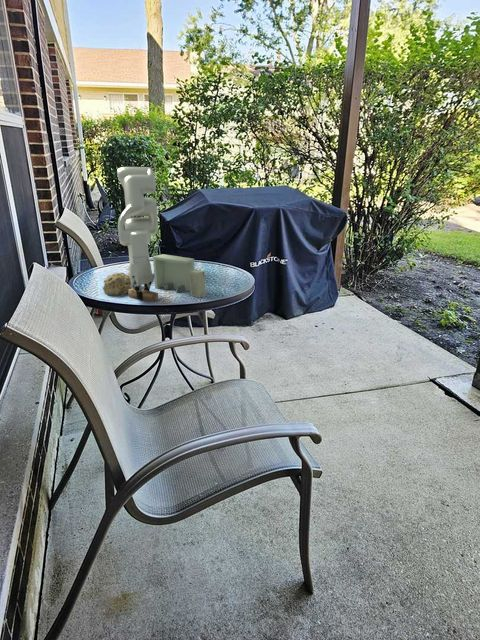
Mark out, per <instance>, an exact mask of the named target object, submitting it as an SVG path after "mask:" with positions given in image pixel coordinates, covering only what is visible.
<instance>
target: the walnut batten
mask: <svg viewBox="0 0 480 640" xmlns="http://www.w3.org/2000/svg"><path fill="white" fill-rule="evenodd" d="M141 291H142V296H143V300H142V301H145V302H149V303H155V302H157V301H159V298H160V297H159V292H156V291H152V290H150V291H147V290H144V288H141ZM127 293H128V294H127V295H128V297H129V298H131V299H136V300H138V299H137V294H136V291H135V290H134V289H133V288H131V289H128V292H127Z"/></svg>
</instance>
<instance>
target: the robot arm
mask: <svg viewBox="0 0 480 640" xmlns="http://www.w3.org/2000/svg"><path fill="white" fill-rule="evenodd" d="M116 175H117V179H118V180H119V183H120V184H121V186H122V188H123V193H124V202H125V208H124V210H123V211H122V212H121V213H120V215H119V217H118V221H117V234H118V241H119V243H120V245H122V246H124V247H127V249H128V258H129V259H128V260H129V265H128V266H127V267H126V269H125V270H127V271H128V273H127V275H129V276H130V282H131V286H130V287H131V288H133V289H134V290H135V291H136V294H137V299H136V300H139V301H140V300H141V301H144V300H143V296H142V291H141V289H142V286H143V287H144V288H143V290H147V291H151V290H150V289H151V285H152V284H153V282H155V279H154V278H153V271H152V266H151V261H150V255H149V243H150V242H151V241H152V236H154V235H157V234H158V231H159V221H158V206H157V202H156V199H155V198H153V197H144V194H154V193H156V187H157V184H156V182H157V181H156V177H155V173H154V170H153V168H151V167H149V166H122V167H121V166H120V167H119V168H117V170H116ZM138 286H139V287H138Z"/></svg>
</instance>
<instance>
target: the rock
mask: <svg viewBox="0 0 480 640" xmlns="http://www.w3.org/2000/svg"><path fill="white" fill-rule="evenodd" d="M103 284H104V285H103V287H102V290H103V291H104V294H106V295H107V296H119V295H125V294H127V293H128V289H131V287H130V286H131V282H130V276H129V275H128V274H125V272H115V273H112V274H110V275H109V274H108V275H107V276H106V277H105V278H104V280H103ZM138 288H139V286H138Z"/></svg>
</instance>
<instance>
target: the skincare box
mask: <svg viewBox="0 0 480 640" xmlns="http://www.w3.org/2000/svg"><path fill="white" fill-rule="evenodd" d="M190 286H191V291H190V296H192V297H195V298H199V299H200V298H204V297H206V296H207V292H206V274H205V270H201V269H200V270H199V269H194V270H192V271H190Z"/></svg>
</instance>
